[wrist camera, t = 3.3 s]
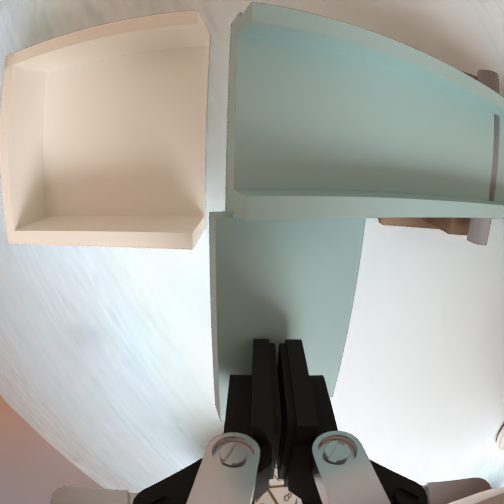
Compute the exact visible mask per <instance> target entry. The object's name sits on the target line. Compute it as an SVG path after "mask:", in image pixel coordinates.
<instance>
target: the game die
mask: <svg viewBox="0 0 504 504" xmlns="http://www.w3.org/2000/svg"><path fill="white" fill-rule="evenodd" d="M255 504H298V503H297V496H296V495H294V494H293V493H291V492H290V491H288V487H284V479H278V474H277V467H275V471H274V477H273V479H270V480H269V486H268V491H267V492H266V493H264V494H263V495H262V496H261V497H259V498H258V499H257V500H256V503H255Z"/></svg>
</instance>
